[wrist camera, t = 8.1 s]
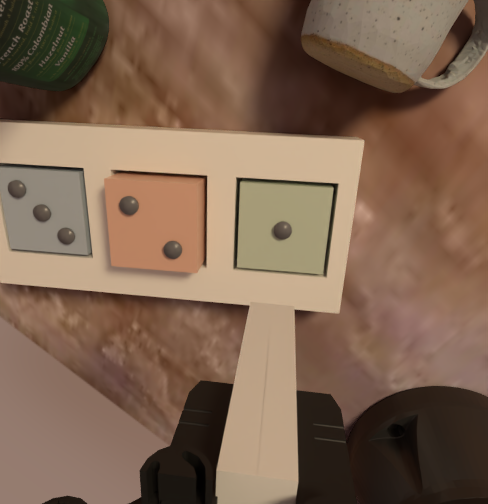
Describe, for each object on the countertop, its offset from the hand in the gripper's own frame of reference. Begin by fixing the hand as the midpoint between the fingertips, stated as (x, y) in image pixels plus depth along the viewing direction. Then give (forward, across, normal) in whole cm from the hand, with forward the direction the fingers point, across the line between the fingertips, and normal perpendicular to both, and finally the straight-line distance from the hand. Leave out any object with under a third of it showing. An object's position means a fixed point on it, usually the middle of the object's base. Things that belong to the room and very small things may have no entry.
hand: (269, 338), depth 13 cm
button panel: (+16, +8, 0) cm, 18 cm away
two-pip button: (+15, +8, 0) cm, 17 cm away
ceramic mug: (+17, -6, -13) cm, 22 cm away
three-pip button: (+16, +17, 0) cm, 23 cm away
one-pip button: (+16, 0, 0) cm, 16 cm away
